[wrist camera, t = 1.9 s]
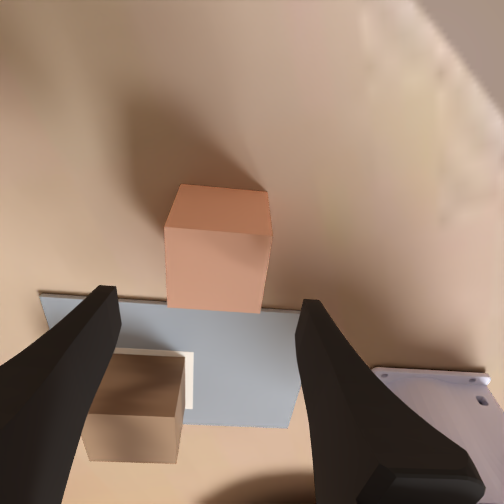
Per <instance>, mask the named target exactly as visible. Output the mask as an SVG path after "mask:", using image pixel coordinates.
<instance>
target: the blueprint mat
mask: <svg viewBox="0 0 504 504" xmlns="http://www.w3.org/2000/svg"><path fill="white" fill-rule="evenodd" d="M39 297H40V300H41V303H42V307H43V310H44V313H45V316H46V319H47V322H48V325H49V328H50V329H51V328H52V327H53V326H55V325H56V324H57V323H58V322H59V321H60V320H62V319H63V318H64V317H65V316H66V315H67V314H68V313H70V312H71V311H72V310H73V309H74V308H75V307H76V306H77V305H78V304H79V303H81V302H82V301H83V300H84V299H85V298H86V297H87V296H73V295H58V294H43V293H42V294H41V295H40V296H39ZM118 302H119V309H120V315H121V322H122V326H121V330H120V333H119V337H118V341H117V344H116V347H115V350H114V353H115V354H133V355H151V356H168V357H185V411H184V417H183V424H191V425H215V426H239V427H263V428H287V429H288V426H289V422H290V419H291V416H292V413H293V409H294V406H295V403H296V400H297V396H298V393H299V390H300V387H301V380H300V375H299V370H298V365H297V359H296V348H295V331H296V327H297V324H298V320H299V316H300V312H301V311H296V310H281V309H266V308H261V311H260V314H258V313H243V312H227V311H212V310H197V309H182V308H167V302H162V301H147V300H132V299H118Z"/></svg>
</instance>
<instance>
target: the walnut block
mask: <svg viewBox="0 0 504 504" xmlns="http://www.w3.org/2000/svg"><path fill="white" fill-rule="evenodd" d="M184 411H185V357H168V356H151V355H133V354H115V353H113V355H112V357H111V360H110V362H109V365H108V367H107V369H106V372H105V374H104V376H103V379H102V381H101V383H100V386H99V388H98V390H97V392H96V395H95V397H94V399H93V402H92V404H91V407H90V409H89V412H88V415H87V417H86V421H85V424H84V427H83V430H82V433H81V436H82V440H83V443H84V446H85V449H86V452H87V455H88V458H89V461H105V462H135V463H165V464H176V463H177V456H178V450H179V443H180V437H181V430H182V424H183V417H184Z"/></svg>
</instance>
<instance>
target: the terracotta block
mask: <svg viewBox="0 0 504 504" xmlns="http://www.w3.org/2000/svg"><path fill="white" fill-rule="evenodd" d="M164 239H165V262H166V286H167V308H182V309H197V310H212V311H227V312H243V313H258V314H260V311H261V305H262V299H263V293H264V287H265V281H266V275H267V269H268V263H269V257H270V251H271V245H272V239H273V232H272V224H271V217H270V209H269V201H268V193H267V192H264V191H253V190H242V189H231V188H221V187H210V186H199V185H188V184H180V187H179V190H178V192H177V195H176V197H175V200H174V202H173V205H172V208H171V210H170V213H169V215H168V218H167V220H166V223H165V226H164Z"/></svg>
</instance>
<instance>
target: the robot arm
mask: <svg viewBox="0 0 504 504" xmlns="http://www.w3.org/2000/svg"><path fill="white" fill-rule="evenodd" d="M121 326H122V322H121V315H120V309H119V302H118V296H117V289H116V286H103V285H99V286H98V287H97V288H96V289H95V290H93V291H92V292H91V293H90V294H89V295H88V296H87V297H86V298H85V299H84V300H83V301H82V302H81V303H79V304H78V305H77V306H76V307H75V308H74V309H73V310H72V311H71V312H70V313H68V314H67V315H66V316H65V317H64V318H63V319H62V320H60V321H59V322H58V323H57V324H56V325H55V326H53V327H52V328H51V329H50V330H49V331H47V332H46V333H45V334H44V335H42V336H41V337H40V338H39V339H37V340H36V341H35V342H34V343H32V344H31V345H30V346H28V347H27V348H26V349H24V350H23V351H22V352H20V353H19V354H17V355H16V356H14V357H13V358H12V359H10V360H9V361H7V362H6V363H4V364H3V365H1V366H0V504H61V502H62V499H63V495H64V491H65V488H66V484H67V480H68V477H69V473H70V470H71V466H72V463H73V459H74V456H75V453H76V449H77V446H78V443H79V440H80V436H81V433H82V430H83V427H84V424H85V421H86V417H87V415H88V412H89V409H90V407H91V404H92V402H93V399H94V397H95V395H96V392H97V390H98V388H99V386H100V383H101V381H102V379H103V376H104V374H105V372H106V369H107V367H108V365H109V362H110V360H111V357H112V355H113V353H114V350H115V347H116V344H117V341H118V337H119V333H120V330H121ZM295 348H296V359H297V365H298V370H299V375H300V380H301V385H302V390H303V394H304V399H305V404H306V409H307V415H308V421H309V428H310V438H311V448H312V458H313V470H314V482H315V496H316V504H504V412H503V410H502V409H501V407H500V406H499V404H498V403H497V401H496V399H495V398H494V396H493V395H492V393H491V392H490V390H489V389H488V387H487V385H488V383H489V382H490V381H491V377H490V376H489V375H488V374H487V373H474V372H457V371H439V370H421V369H403V368H385V367H375V368H373V369H372V370H371V369H370V368H369V367H368V366H367V365H366V364H365V362H364V361H363V360H362V359H361V358H360V356H359V355H358V354H357V353H356V352H355V350H354V349H353V348H352V346H351V345H350V344H349V342H348V341H347V340H346V338H345V337H344V336H343V334H342V333H341V332H340V330H339V329H338V327H337V326H336V324H335V323H334V321H333V320H332V318H331V317H330V315H329V314H328V312H327V311H326V309H325V308H324V306H323V305H322V303H321V302H320V301H319V300H310V299H304V300H303V304H302V308H301V312H300V316H299V320H298V324H297V327H296V331H295Z"/></svg>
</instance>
